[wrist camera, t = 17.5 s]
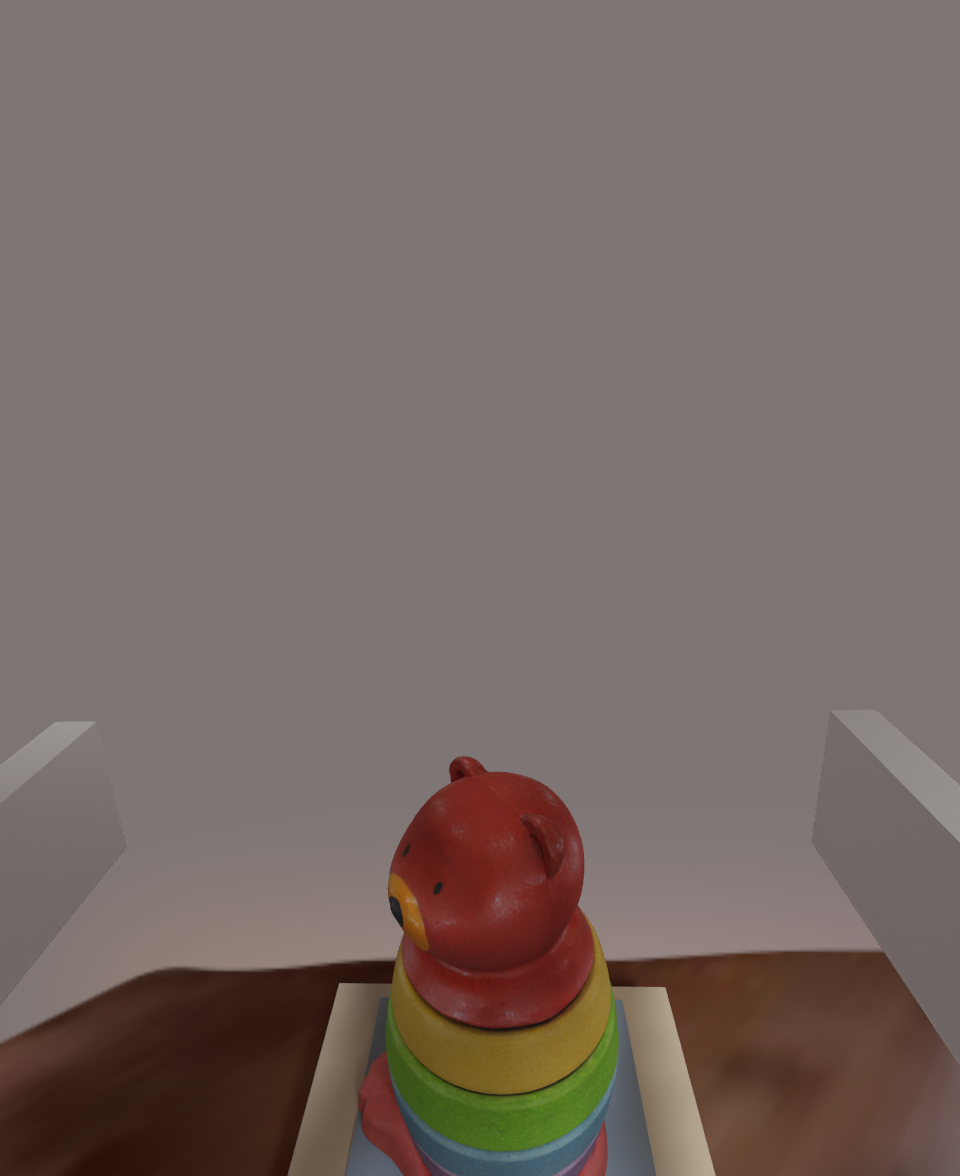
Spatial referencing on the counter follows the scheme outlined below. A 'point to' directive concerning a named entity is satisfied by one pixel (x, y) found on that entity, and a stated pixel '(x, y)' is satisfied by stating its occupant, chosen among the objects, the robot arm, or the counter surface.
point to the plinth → (633, 1120)
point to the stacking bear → (493, 991)
